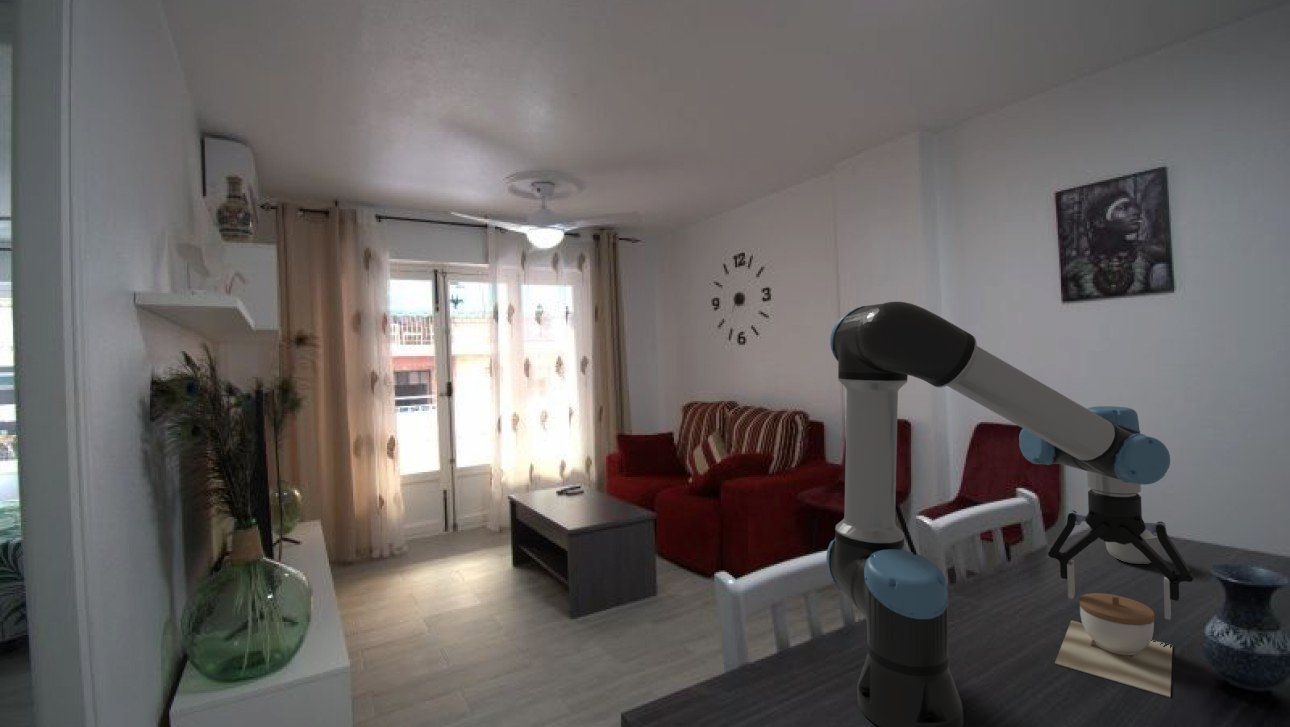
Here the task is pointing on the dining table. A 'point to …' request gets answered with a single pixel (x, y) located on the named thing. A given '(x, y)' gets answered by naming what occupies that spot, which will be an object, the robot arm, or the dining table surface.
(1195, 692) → the dining table surface
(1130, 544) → the teacup
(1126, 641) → the lidded jar
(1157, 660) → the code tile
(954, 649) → the dining table surface
